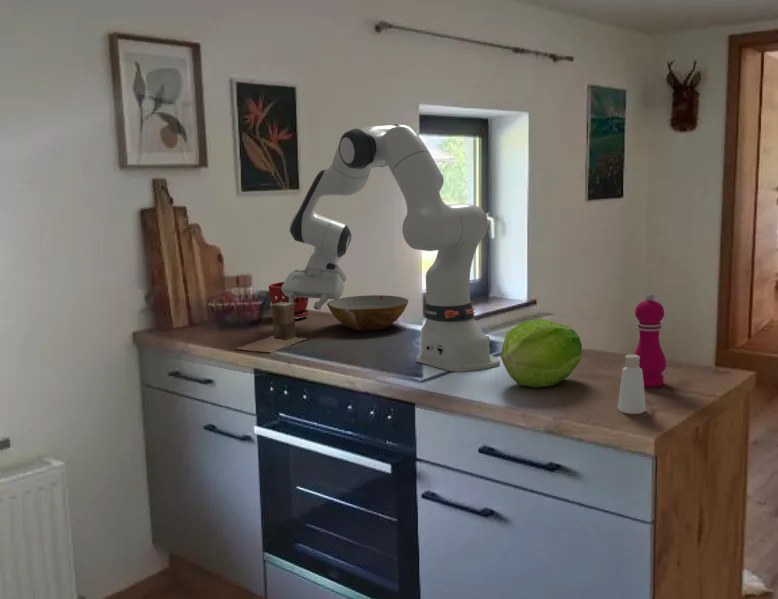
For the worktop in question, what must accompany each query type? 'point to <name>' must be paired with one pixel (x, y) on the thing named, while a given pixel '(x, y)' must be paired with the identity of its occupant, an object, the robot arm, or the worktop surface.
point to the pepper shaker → (632, 387)
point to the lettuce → (540, 353)
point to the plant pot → (300, 301)
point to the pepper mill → (650, 341)
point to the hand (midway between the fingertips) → (303, 307)
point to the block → (283, 320)
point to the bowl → (368, 311)
